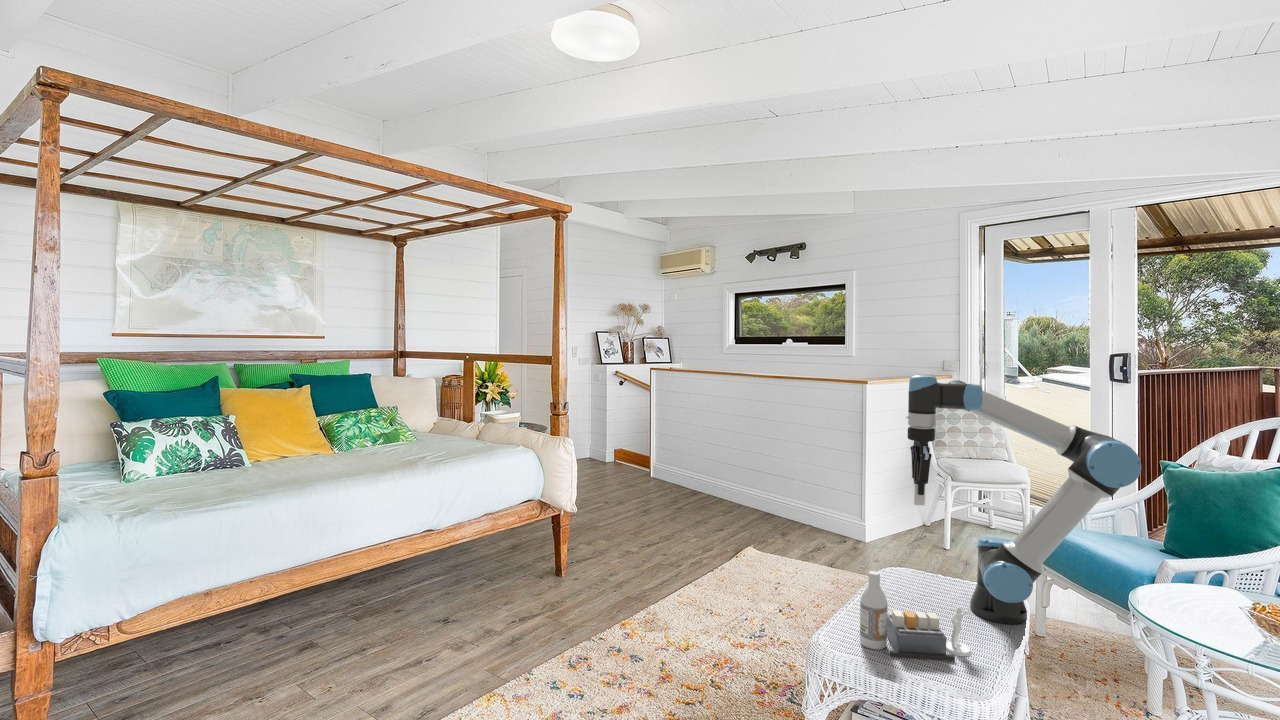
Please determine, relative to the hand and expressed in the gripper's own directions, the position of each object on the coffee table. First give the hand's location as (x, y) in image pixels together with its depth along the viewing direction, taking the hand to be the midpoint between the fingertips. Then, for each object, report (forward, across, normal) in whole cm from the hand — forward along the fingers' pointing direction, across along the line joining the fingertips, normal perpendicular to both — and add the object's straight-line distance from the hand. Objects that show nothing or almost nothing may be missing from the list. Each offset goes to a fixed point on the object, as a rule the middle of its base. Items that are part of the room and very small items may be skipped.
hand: (919, 504), depth 184 cm
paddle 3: (+29, +19, -4) cm, 34 cm away
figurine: (+35, +19, +6) cm, 40 cm away
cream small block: (+29, +19, -10) cm, 36 cm away
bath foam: (+35, +20, -16) cm, 43 cm away
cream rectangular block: (+29, +19, -1) cm, 34 cm away
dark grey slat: (+35, +25, -5) cm, 43 cm away
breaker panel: (+35, +19, -5) cm, 40 cm away
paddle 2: (+29, +19, -7) cm, 35 cm away
